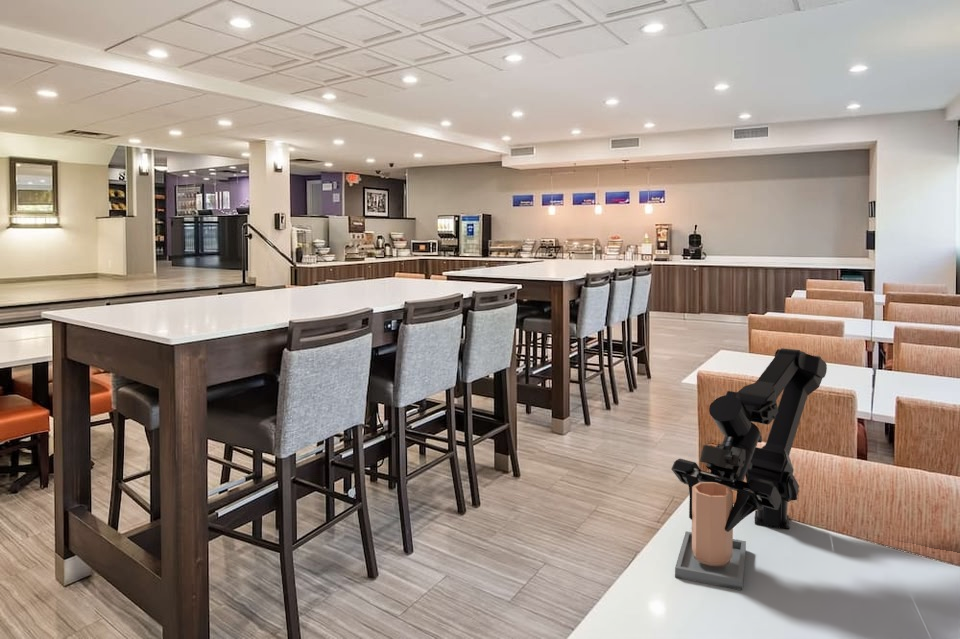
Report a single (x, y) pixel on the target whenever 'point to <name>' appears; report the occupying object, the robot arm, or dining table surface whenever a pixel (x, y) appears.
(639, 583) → the dining table surface
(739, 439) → the robot arm
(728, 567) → the tray
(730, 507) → the cup
